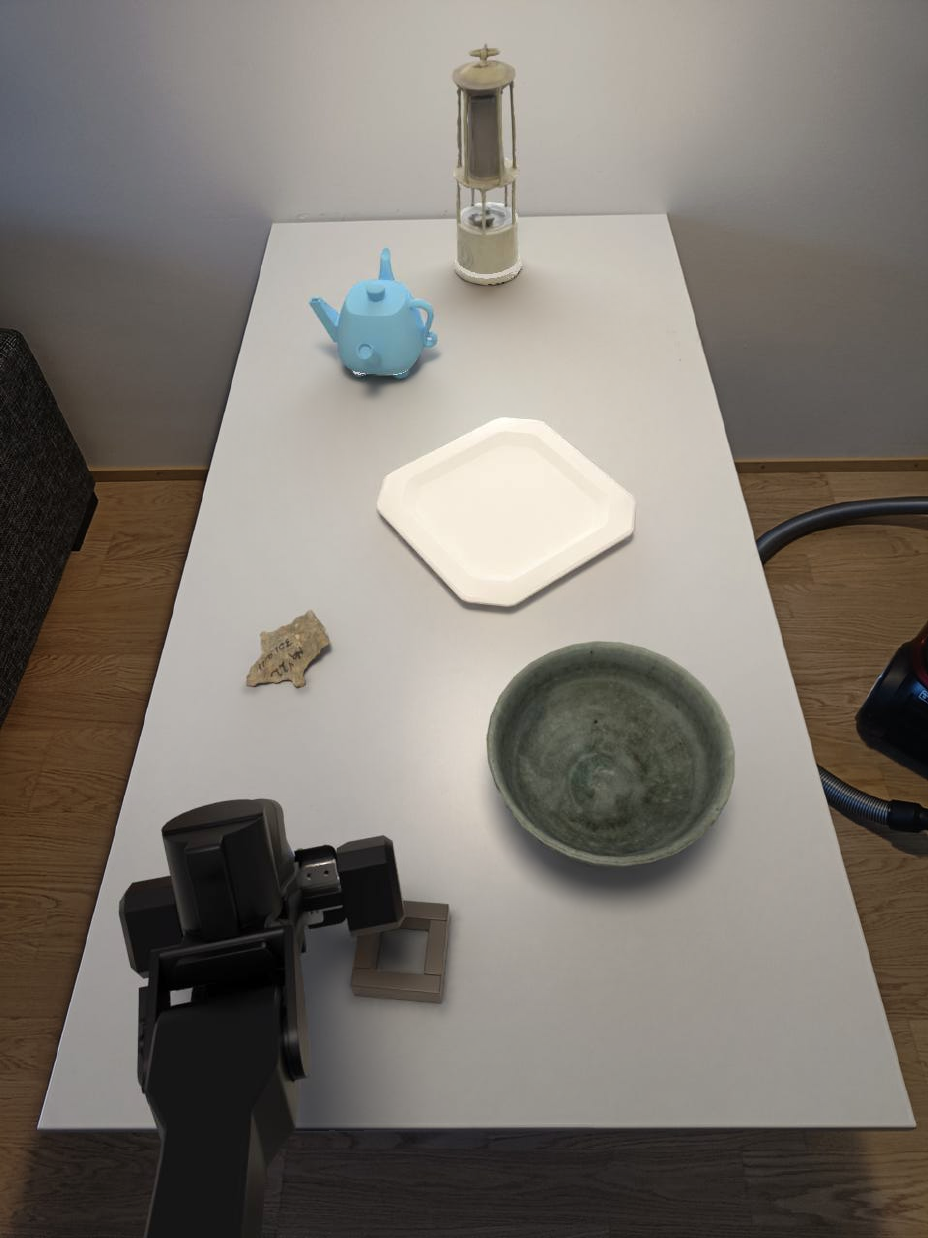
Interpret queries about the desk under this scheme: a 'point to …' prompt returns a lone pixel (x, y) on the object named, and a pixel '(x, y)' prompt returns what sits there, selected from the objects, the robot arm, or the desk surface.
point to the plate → (506, 510)
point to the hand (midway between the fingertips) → (277, 858)
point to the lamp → (485, 170)
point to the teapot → (378, 325)
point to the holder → (405, 983)
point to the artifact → (289, 651)
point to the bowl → (611, 753)
